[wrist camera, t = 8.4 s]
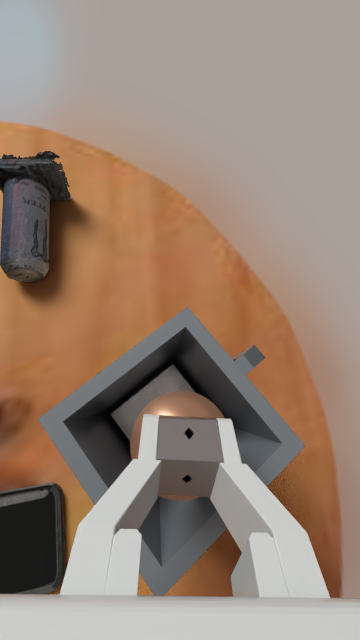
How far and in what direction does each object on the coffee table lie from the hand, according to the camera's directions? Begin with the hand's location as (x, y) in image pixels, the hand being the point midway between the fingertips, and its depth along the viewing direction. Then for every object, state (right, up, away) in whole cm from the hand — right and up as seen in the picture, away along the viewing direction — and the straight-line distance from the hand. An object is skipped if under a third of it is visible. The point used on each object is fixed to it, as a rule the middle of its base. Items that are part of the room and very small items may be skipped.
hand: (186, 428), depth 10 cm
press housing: (-1, -5, +18) cm, 19 cm away
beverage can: (-17, +13, +23) cm, 31 cm away
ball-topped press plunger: (-1, -5, +13) cm, 14 cm away
